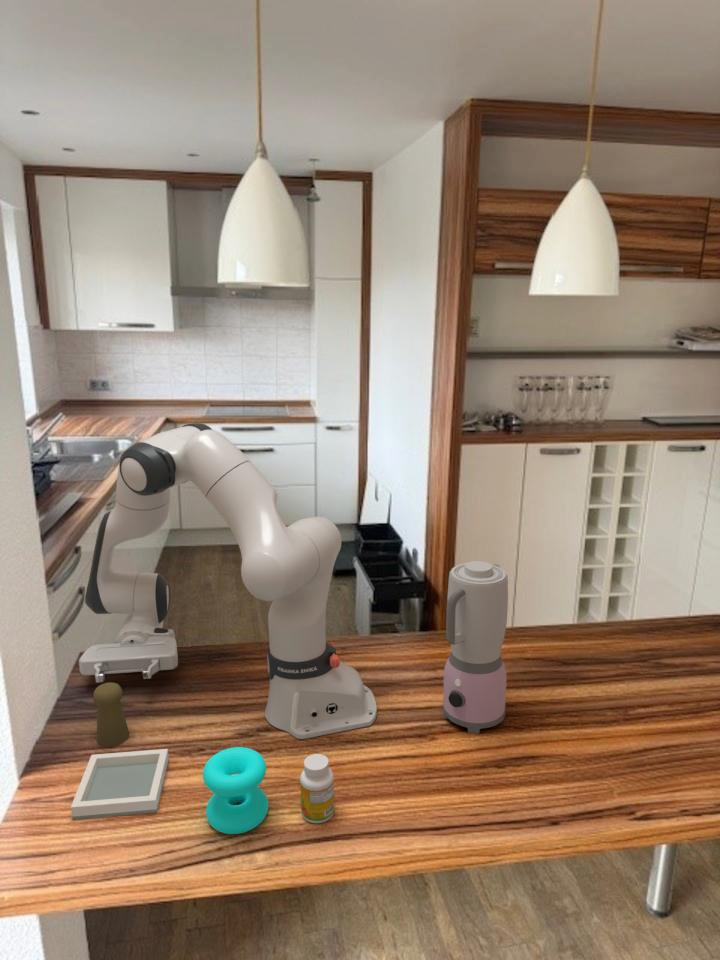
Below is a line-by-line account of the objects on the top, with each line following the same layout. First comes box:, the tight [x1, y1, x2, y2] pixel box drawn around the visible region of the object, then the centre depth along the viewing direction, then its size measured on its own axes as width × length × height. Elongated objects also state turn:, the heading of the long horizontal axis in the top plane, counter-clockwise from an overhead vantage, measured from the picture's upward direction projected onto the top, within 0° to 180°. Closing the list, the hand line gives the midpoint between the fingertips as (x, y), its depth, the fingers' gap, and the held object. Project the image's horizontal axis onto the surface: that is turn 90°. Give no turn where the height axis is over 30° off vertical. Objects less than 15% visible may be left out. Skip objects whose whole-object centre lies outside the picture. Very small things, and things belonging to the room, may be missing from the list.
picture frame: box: [70, 748, 170, 821], centre depth 123 cm, size 13×13×2 cm
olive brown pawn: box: [92, 682, 130, 748], centre depth 136 cm, size 6×6×11 cm
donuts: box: [202, 746, 269, 835], centre depth 115 cm, size 10×10×10 cm
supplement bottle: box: [299, 753, 335, 824], centre depth 116 cm, size 5×5×10 cm
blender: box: [442, 560, 509, 735], centre depth 137 cm, size 16×12×32 cm
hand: (122, 677), depth 147 cm, fingers open, 8 cm apart
